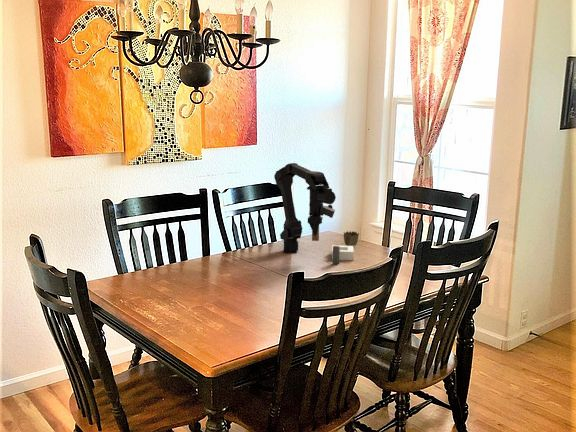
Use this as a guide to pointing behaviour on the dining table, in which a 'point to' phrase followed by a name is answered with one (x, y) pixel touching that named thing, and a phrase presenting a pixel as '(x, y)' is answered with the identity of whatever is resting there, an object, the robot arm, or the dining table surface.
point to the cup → (351, 238)
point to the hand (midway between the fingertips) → (315, 234)
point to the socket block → (345, 252)
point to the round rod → (336, 255)
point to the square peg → (315, 238)
